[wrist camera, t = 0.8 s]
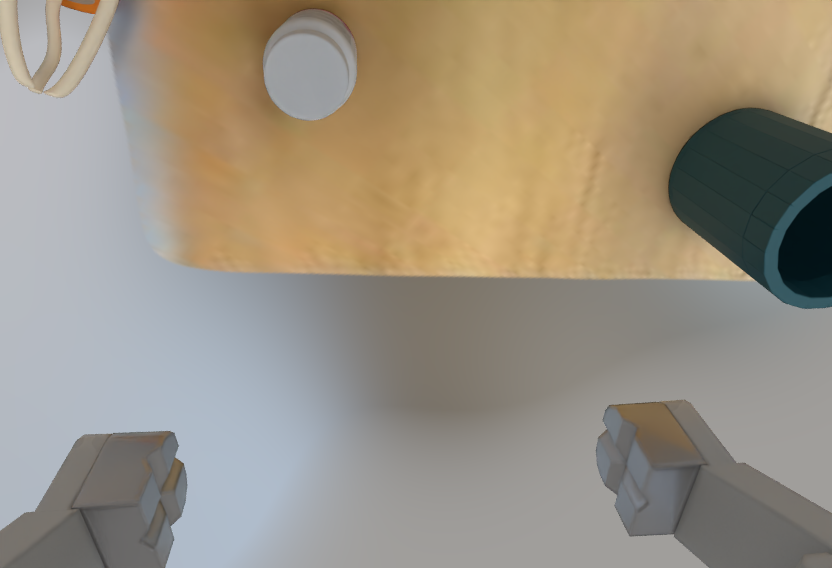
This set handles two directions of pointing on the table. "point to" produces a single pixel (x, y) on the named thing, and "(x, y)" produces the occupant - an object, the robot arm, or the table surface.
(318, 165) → the table surface
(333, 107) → the pill bottle
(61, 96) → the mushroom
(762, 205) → the jar
